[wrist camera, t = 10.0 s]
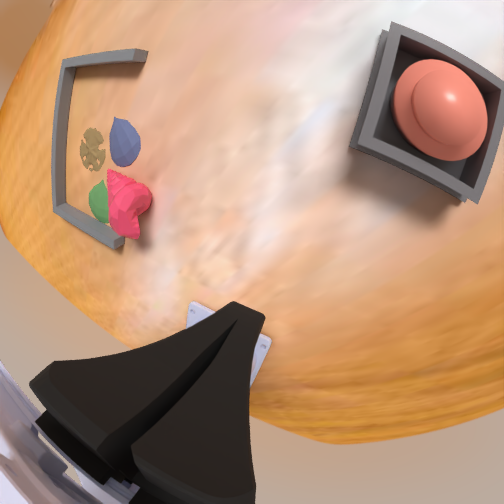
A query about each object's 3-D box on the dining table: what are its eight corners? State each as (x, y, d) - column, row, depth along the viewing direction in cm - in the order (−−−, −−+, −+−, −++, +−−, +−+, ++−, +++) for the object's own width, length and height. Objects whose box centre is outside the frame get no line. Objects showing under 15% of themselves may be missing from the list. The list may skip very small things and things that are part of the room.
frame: (124, 243, 25) (113, 249, 24) (62, 207, 28) (53, 211, 26) (148, 51, 16) (135, 48, 15) (73, 59, 19) (62, 59, 17)
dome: (457, 172, 12) (478, 182, 9) (379, 133, 13) (384, 132, 10) (480, 95, 9) (503, 89, 6) (401, 54, 10) (410, 36, 8)
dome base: (462, 201, 13) (480, 214, 10) (349, 146, 15) (347, 148, 12) (495, 90, 9) (516, 85, 6) (381, 32, 11) (384, 13, 8)
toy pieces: (170, 117, 18) (129, 118, 15) (159, 246, 24) (126, 267, 20) (83, 112, 21) (48, 117, 17) (82, 211, 27) (52, 224, 23)
